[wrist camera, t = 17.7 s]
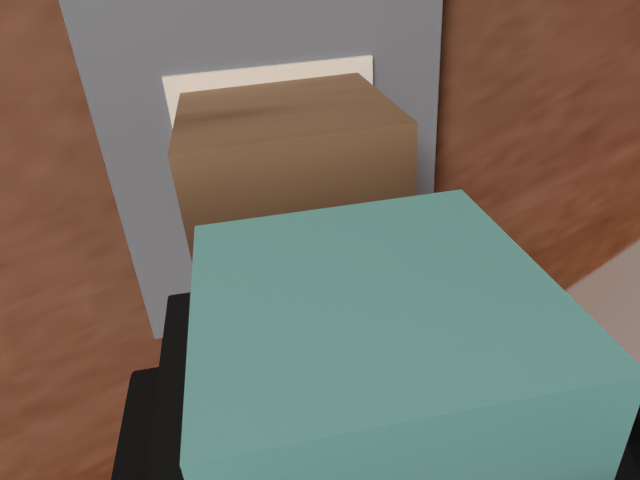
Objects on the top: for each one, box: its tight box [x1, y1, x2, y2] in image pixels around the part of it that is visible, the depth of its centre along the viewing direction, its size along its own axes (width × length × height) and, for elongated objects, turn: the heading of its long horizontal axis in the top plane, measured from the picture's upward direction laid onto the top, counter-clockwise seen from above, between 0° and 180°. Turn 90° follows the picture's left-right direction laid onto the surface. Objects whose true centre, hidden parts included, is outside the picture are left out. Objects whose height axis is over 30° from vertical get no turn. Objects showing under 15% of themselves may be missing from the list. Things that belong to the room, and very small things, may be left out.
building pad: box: [59, 0, 443, 339], centre depth 20 cm, size 14×12×1 cm
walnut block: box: [167, 73, 418, 261], centre depth 16 cm, size 6×6×6 cm
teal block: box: [180, 189, 640, 480], centre depth 9 cm, size 5×5×5 cm
